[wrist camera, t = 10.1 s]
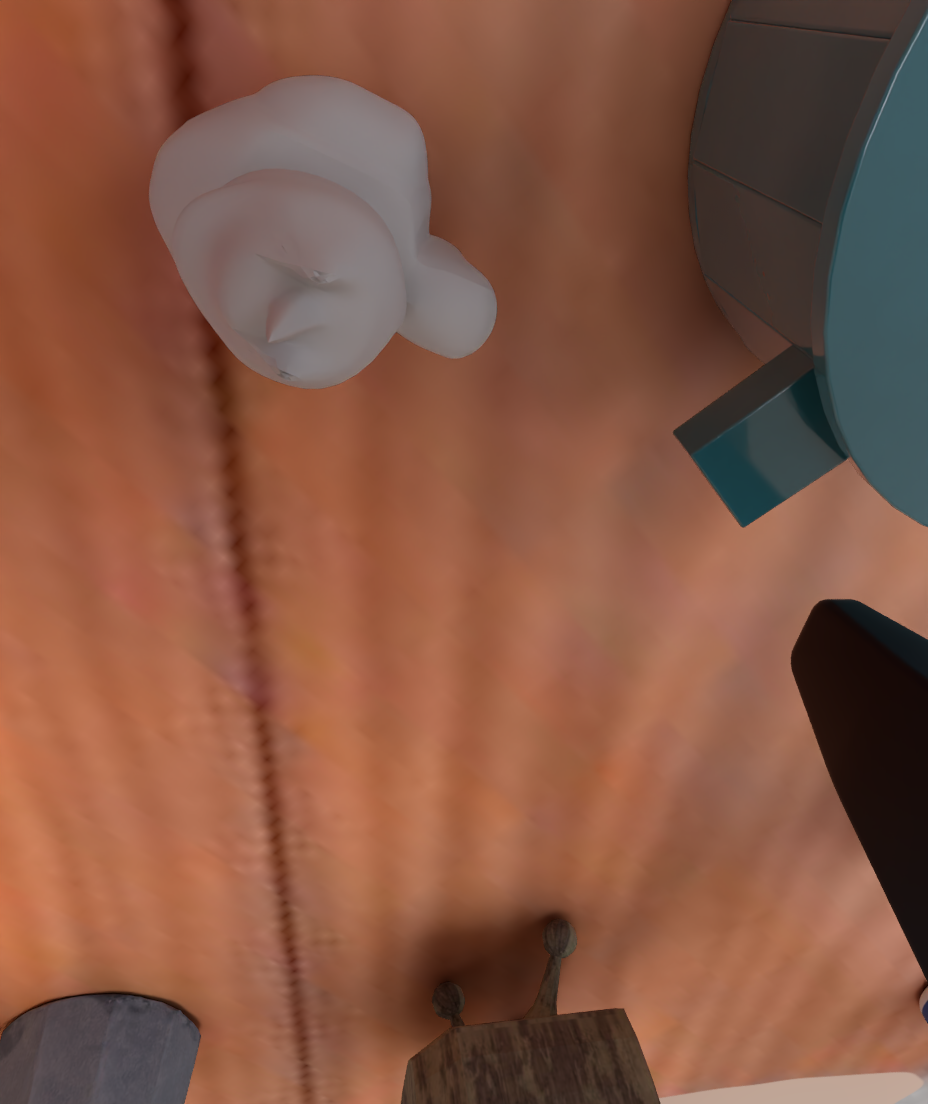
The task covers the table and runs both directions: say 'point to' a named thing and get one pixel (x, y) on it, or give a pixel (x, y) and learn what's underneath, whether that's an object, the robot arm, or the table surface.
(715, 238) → the pot
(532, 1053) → the tabletop clock
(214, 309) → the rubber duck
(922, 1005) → the beverage bottle
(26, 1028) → the moka pot
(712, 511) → the table surface
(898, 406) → the pot lid
